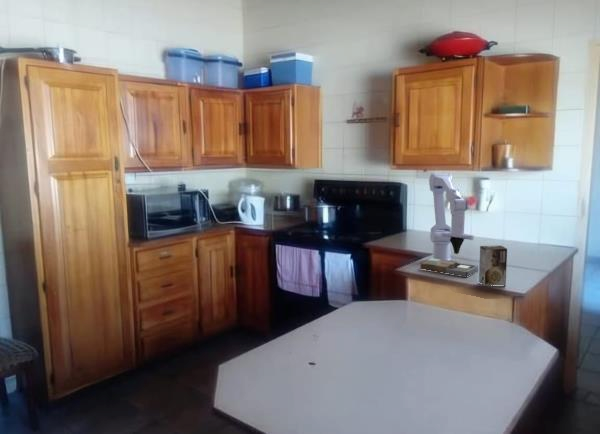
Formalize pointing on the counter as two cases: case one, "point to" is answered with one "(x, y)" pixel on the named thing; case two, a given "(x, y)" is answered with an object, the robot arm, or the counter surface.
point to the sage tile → (433, 261)
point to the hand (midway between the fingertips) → (456, 253)
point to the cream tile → (463, 268)
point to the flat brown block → (440, 266)
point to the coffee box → (492, 265)
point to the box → (463, 273)
